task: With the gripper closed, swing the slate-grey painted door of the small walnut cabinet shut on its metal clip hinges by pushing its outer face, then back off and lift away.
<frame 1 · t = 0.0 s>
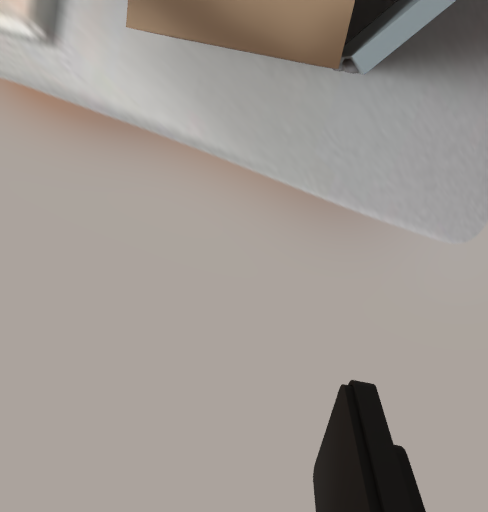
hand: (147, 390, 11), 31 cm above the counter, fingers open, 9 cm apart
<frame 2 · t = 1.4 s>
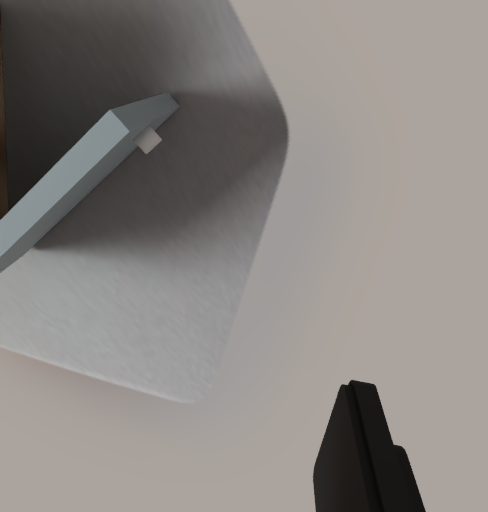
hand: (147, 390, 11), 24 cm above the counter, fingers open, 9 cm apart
door: (59, 209, 28), point 6 cm above the counter, hinge at 40.0°
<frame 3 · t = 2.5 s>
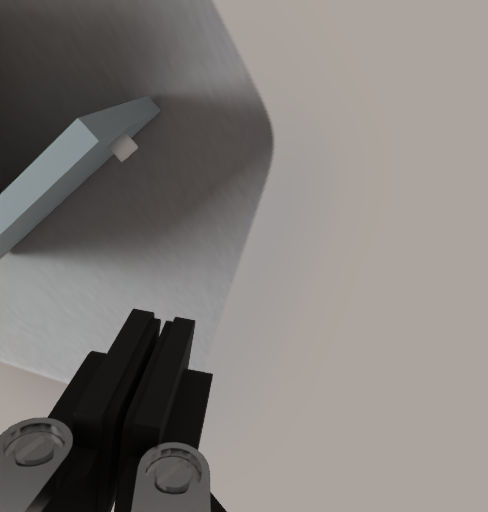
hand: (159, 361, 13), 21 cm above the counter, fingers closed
door: (32, 217, 27), point 6 cm above the counter, hinge at 40.0°
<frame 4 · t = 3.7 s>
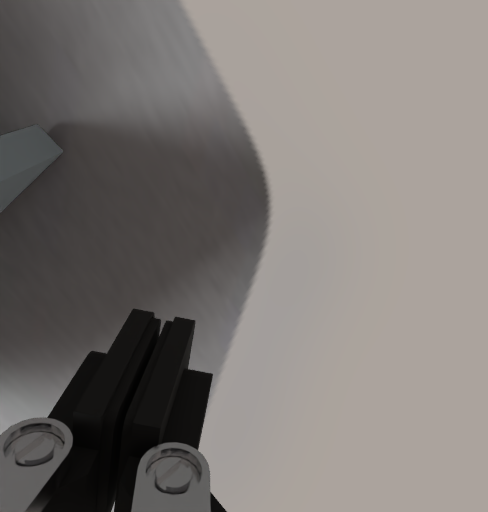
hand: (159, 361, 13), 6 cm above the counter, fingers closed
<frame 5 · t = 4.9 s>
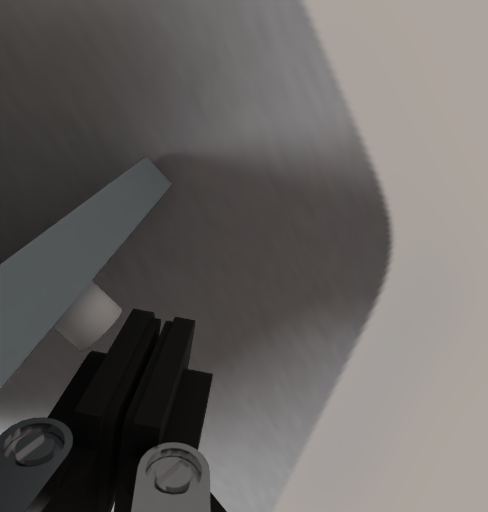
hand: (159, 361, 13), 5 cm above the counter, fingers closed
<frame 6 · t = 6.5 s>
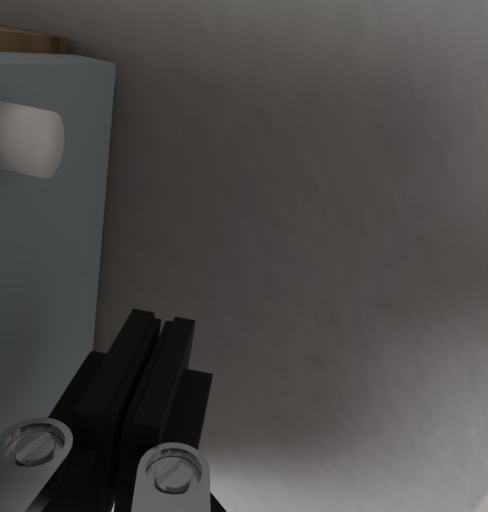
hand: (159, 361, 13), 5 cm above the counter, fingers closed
door: (12, 416, 12), point 6 cm above the counter, hinge at 0.6°, touching gripper
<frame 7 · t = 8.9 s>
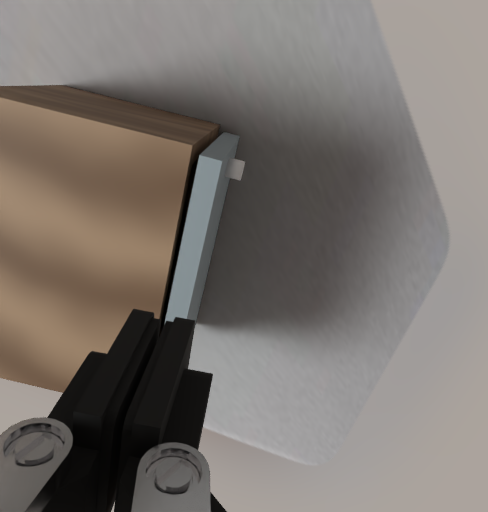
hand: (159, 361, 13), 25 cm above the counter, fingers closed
cabinet: (125, 212, 38), on the counter
door: (202, 268, 32), point 6 cm above the counter, hinge at 0.5°
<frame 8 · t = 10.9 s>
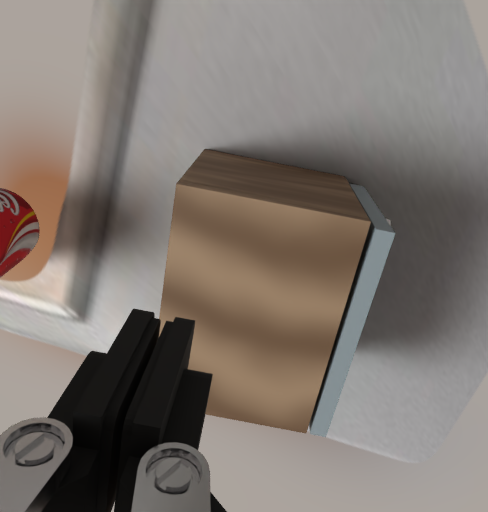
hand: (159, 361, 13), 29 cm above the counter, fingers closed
cabinet: (255, 254, 43), on the counter
soda can: (8, 220, 43), on the counter
door: (343, 306, 37), point 6 cm above the counter, hinge at 0.5°
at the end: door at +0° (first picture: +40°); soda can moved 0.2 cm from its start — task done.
